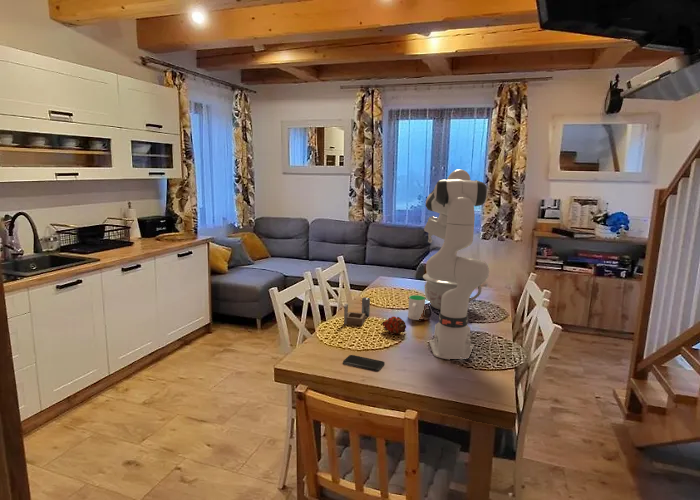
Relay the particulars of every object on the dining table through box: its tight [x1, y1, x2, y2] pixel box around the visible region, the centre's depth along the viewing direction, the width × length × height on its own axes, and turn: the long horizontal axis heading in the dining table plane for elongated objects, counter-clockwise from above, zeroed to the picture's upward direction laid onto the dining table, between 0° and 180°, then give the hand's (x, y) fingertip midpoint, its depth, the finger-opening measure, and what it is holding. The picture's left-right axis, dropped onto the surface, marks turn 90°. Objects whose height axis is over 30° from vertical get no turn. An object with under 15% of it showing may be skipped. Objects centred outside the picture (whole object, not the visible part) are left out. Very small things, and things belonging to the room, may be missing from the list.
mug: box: [407, 294, 426, 321], centre depth 227 cm, size 12×8×10 cm, turn 162°
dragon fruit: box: [381, 315, 407, 335], centre depth 207 cm, size 8×8×12 cm
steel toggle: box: [361, 296, 371, 318], centre depth 230 cm, size 4×4×9 cm
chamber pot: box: [422, 272, 483, 311], centre depth 245 cm, size 28×28×21 cm
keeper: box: [343, 303, 366, 327], centre depth 219 cm, size 10×9×10 cm
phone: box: [342, 354, 385, 372], centre depth 176 cm, size 8×1×15 cm
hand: (436, 245), depth 244 cm, fingers open, 8 cm apart
